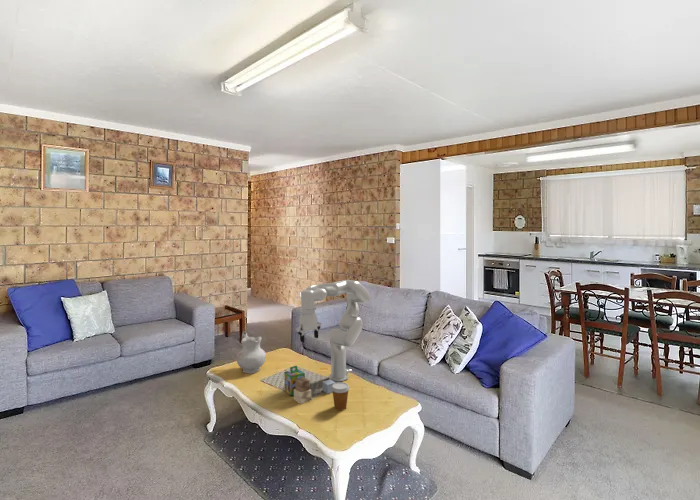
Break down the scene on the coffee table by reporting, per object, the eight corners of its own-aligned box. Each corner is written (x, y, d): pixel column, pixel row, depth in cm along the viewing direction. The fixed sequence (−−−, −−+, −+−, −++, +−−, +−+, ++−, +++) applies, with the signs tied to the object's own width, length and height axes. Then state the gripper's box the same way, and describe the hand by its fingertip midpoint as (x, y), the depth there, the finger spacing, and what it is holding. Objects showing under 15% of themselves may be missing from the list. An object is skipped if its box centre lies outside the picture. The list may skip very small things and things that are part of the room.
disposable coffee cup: (343, 413, 198) (342, 390, 197) (328, 408, 203) (327, 386, 202) (352, 406, 206) (352, 384, 205) (338, 401, 211) (337, 380, 210)
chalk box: (291, 396, 218) (291, 371, 217) (284, 391, 225) (283, 366, 224) (305, 392, 223) (305, 367, 222) (297, 387, 230) (297, 363, 230)
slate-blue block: (330, 388, 229) (329, 379, 228) (335, 391, 224) (335, 382, 224) (322, 390, 225) (322, 381, 225) (327, 394, 221) (327, 384, 220)
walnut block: (303, 386, 217) (303, 377, 217) (309, 389, 213) (309, 380, 212) (295, 389, 213) (295, 379, 213) (301, 392, 209) (301, 382, 209)
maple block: (304, 396, 218) (304, 385, 218) (311, 400, 213) (311, 390, 212) (293, 399, 214) (293, 389, 214) (300, 404, 209) (300, 393, 208)
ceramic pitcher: (229, 372, 257) (225, 336, 254) (251, 361, 273) (248, 327, 270) (250, 379, 245) (247, 342, 242) (273, 367, 261) (270, 332, 258)
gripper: (316, 307, 230) (317, 335, 232) (291, 312, 219) (293, 341, 221) (324, 309, 225) (325, 337, 226) (299, 315, 214) (300, 345, 215)
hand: (309, 339), depth 224 cm, fingers open, 9 cm apart
